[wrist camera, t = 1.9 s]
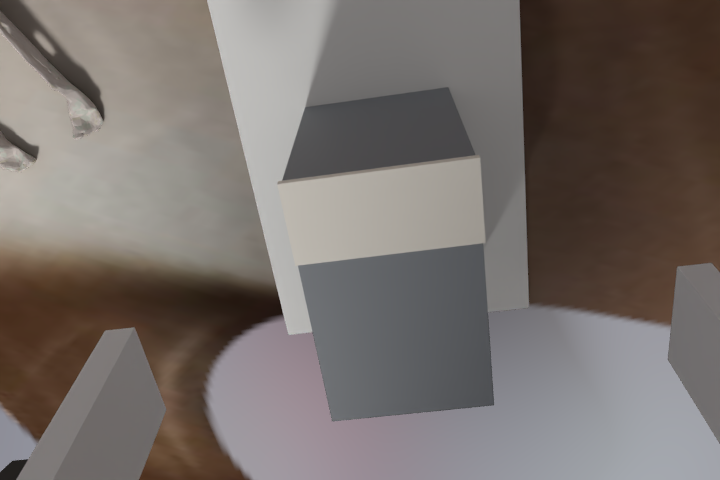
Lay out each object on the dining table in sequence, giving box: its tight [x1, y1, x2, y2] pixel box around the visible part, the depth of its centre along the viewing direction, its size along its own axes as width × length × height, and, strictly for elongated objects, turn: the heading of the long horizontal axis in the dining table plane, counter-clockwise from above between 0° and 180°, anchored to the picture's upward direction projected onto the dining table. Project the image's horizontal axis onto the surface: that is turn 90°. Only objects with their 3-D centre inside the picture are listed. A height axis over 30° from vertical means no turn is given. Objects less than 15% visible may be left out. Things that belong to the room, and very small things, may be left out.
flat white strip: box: [207, 0, 529, 335], centre depth 22 cm, size 23×10×1 cm, turn 8°
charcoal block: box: [277, 87, 494, 421], centre depth 21 cm, size 8×5×7 cm, turn 8°
